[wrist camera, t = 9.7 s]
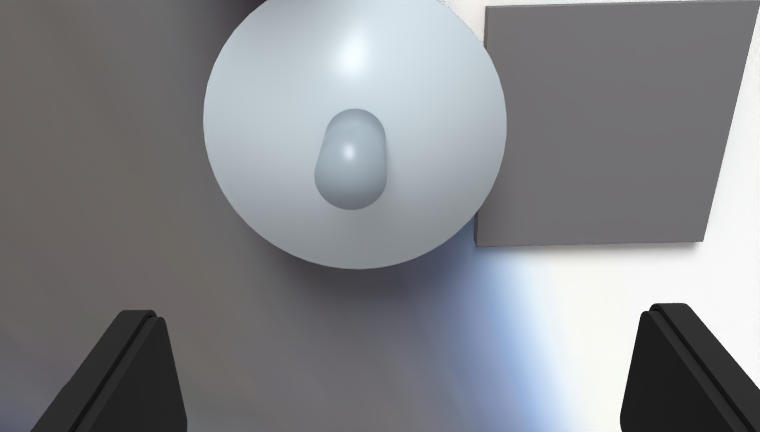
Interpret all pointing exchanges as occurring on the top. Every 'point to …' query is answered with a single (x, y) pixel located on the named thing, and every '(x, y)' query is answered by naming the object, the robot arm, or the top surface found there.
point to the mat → (612, 119)
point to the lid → (355, 127)
